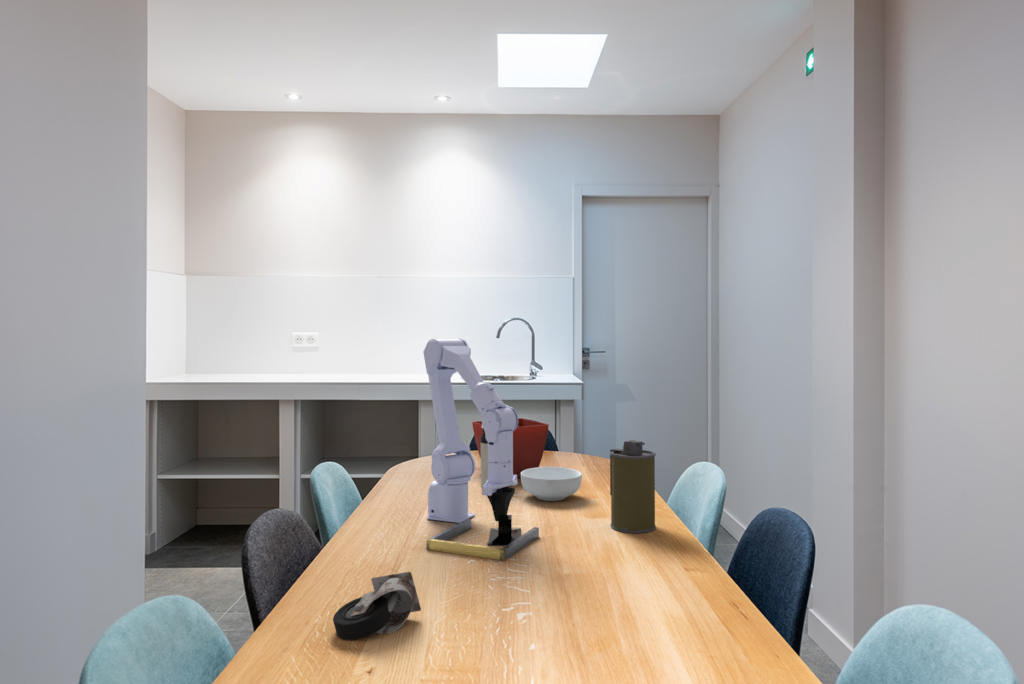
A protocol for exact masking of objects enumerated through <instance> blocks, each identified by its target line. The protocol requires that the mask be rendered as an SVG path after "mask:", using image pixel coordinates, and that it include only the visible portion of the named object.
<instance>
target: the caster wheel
mask: <svg viewBox="0 0 1024 684" xmlns="http://www.w3.org/2000/svg"><path fill="white" fill-rule="evenodd" d="M370 580H371V583H372V587H373V588H372V589H373V590H374V591H370V592H367V593H365V594H363V596H360V597H358V598H355V599H353V600H351V601H349V602H347V603H345V604H344V605H343V606H341V607H340V608H339V609H337V611H336V612H335V613H334V615H333V618H332V621H333V625H334V629H335V632H336V635H337V637H338V638H339V639H341V640H344V641H355V640H360V639H361V640H362V639H364V638H366V637H369V636H371V635H373V634H377V635H385V634H386V635H387V634H390V633H394V632H396V631H398V630H399V629H400V628H401V627H402V626H403V625H404V623H405V622H406V621H407V620H408V618H409V616H410V614H411V613H415V612H421V611H422V607H421V603H420V599H419V597H418V596H419V595H418V593H417V590H416V585H415V582H414V578H413V574H412V572H411V571H406V572H398V573H394V574H393V573H392V574H388V575H382V576H375V577H372V578H371V579H370Z"/></svg>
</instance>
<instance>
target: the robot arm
mask: <svg viewBox="0 0 1024 684" xmlns="http://www.w3.org/2000/svg"><path fill="white" fill-rule="evenodd" d="M471 352H472V351H471V348H470V346H469V344H468V343H467V341H466V340H465V339H463V338H457V339H455V338H452V339H450V338H449V339H447V338H446V339H445V338H443V339H442V338H440V339H439V338H438V339H437V338H431V339H429V340H428V341H427V343H426V345H425V347H424V350H423V359H424V364H425V370H426V374H427V376H428V381H429V382H428V383H429V388H430V389H429V390H430V394H431V400H432V408H433V413H434V419H435V425H436V431H437V437H438V445H437V446H436V448H434V450H433V451H432V453H431V454H430V455H431V467H430V468H431V469H430V470H431V475H432V477H433V479H434V480H433V481H432V482H431V483H430V485H429V487H428V493H427V503H428V504H427V505H428V506H427V509H428V510H427V513H428V514H427V516H426V519H427V520H432V521H441V522H448V523H449V522H450V523H456V524H458V523H460V522H462V521H464V520H466V519H470V518H473V517H474V516H476V513H473V512H469V482H471V478H472V477H473V476H474V474H475V471H476V461H475V458H474V457H473V455H472V451H471V447H470V446H469V445H468V444H467V443H465V442H464V441H463V440H462V439H461V433H460V427H459V422H458V415H457V409H456V404H455V403H456V402H455V397H454V393H453V392H454V391H453V388H452V381H451V378H452V377H453V375H455V374H456V373H458V375H459V376H460V377H461V378H462V380H463V382H465V384H466V385H467V386H468V388H470V395H469V396H470V400H472V402H473V404H474V405H475V407H476V409H477V410H478V412H479V414H480V415H481V416H482V420H481V421H482V426H483V429H484V431H485V438H486V441H488V480H487V481H486V483H485V485H484V486H481V495H482V496H486V497H487V499H488V501H489V503H490V505H491V509H492V512H493V517H494V520H495V522H498V518H499V515H508V511H509V508H510V503H511V501H512V498H513V497H514V494H515V490H516V489H515V488H513V486H516V485H518V484H519V483H518V477H517V475H513V431H515V430H516V428H517V426H518V418H519V416H518V414H517V411H516V409H515V408H514V407H512V406H509V405H508V404H506V403H504V401H503V400H502V399H501V397H500V395H499V394H498V393H497V391H496V390H495V387H494V385H493V384H492V383H490V382H484V379H483V378H482V376H481V375H480V373H479V371H478V369H477V367H476V365H475V364H474V362H473V360H472V358H471V354H472V353H471ZM510 486H512V487H510Z"/></svg>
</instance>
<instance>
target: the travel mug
mask: <svg viewBox="0 0 1024 684" xmlns="http://www.w3.org/2000/svg"><path fill="white" fill-rule="evenodd" d="M481 427H482V429H483V426H481ZM487 480H488V441H486V438H485V431H484V429H483V433H482V435H481V458H480V486H481V487H482V486H484V485H485V483H486V481H487Z"/></svg>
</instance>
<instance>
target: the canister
mask: <svg viewBox="0 0 1024 684" xmlns="http://www.w3.org/2000/svg"><path fill="white" fill-rule="evenodd" d="M644 445H646V443H645V442H643V441H640V440H635V439H634V440H632V439H631V440H625V441H624V442H623V447H622V449H621V448H612V449H610V450H609V464H610V465H609V467H610V468H609V474H610V475H609V478H610V479H609V480H610V482H609V483H610V485H609V487H610V488H609V489H610V490H609V491H610V492H609V495H610V497H611V499H610V500H611V502H610V509H611V511H610V512H611V513H610V516H611V518H610V520H611V521H610V528H611V529H613V530H615V531H618V532H621V533H627V534H647V533H651V532H654V531H655V530H656V529H657V525H656V488H655V487H656V482H655V481H656V476H655V475H656V474H655V473H656V472H655V471H656V470H655V469H656V467H655V465H656V464H655V463H656V461H655V459H656V458H655V457H656V455H657V454H656V452H655V451H651V450H646V449H643V446H644Z"/></svg>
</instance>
